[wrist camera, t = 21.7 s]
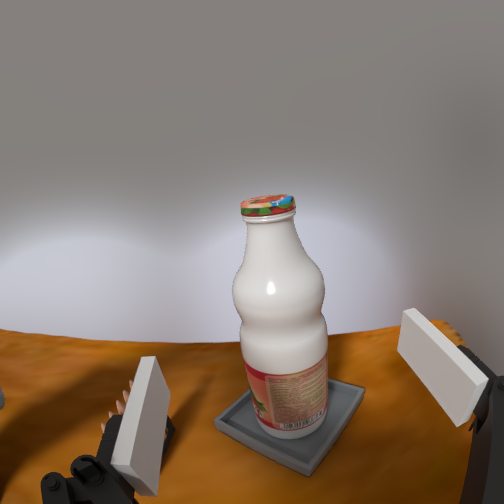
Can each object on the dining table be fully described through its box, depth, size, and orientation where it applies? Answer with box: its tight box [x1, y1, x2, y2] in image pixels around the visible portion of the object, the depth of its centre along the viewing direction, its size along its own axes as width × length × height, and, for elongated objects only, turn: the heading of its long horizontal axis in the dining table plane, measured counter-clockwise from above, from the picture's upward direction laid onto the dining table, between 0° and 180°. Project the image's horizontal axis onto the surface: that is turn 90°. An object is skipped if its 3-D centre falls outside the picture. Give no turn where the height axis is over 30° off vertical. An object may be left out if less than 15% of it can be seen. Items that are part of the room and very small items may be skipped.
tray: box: [213, 378, 365, 477], centre depth 35 cm, size 15×15×2 cm
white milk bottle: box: [232, 195, 328, 439], centre depth 31 cm, size 9×9×28 cm
